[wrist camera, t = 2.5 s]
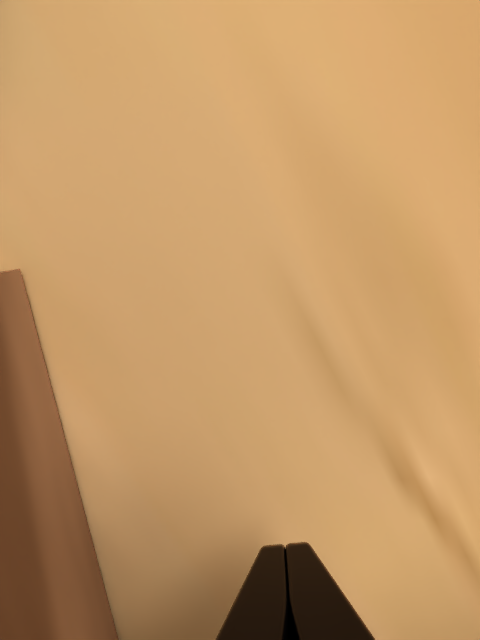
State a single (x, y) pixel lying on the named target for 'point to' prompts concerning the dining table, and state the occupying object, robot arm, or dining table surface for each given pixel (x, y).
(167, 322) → the dining table surface
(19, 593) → the brown square frame
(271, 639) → the robot arm
